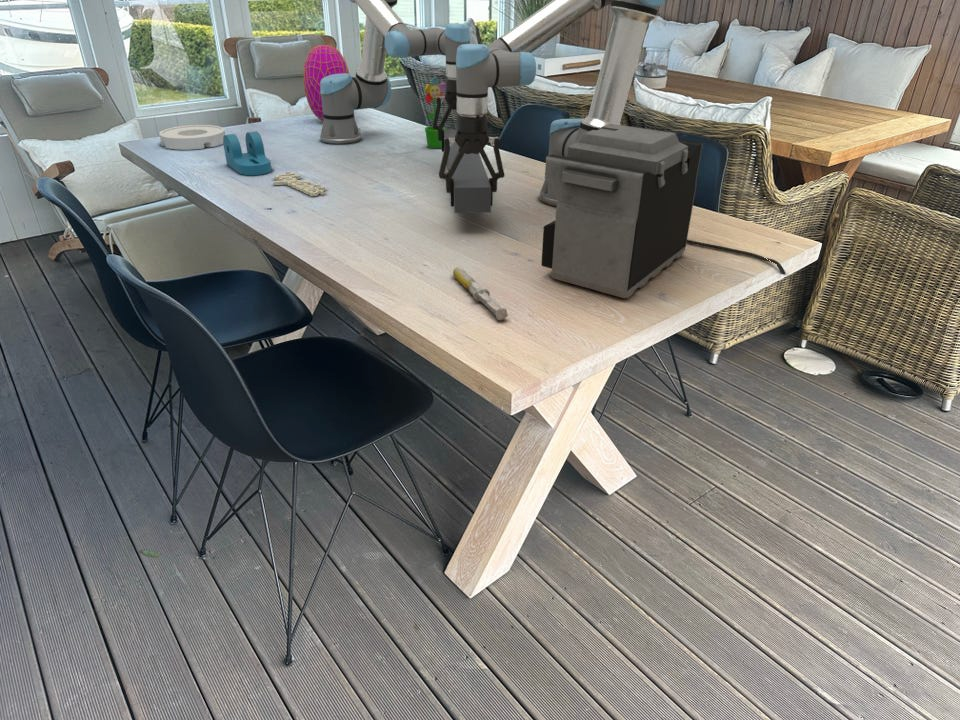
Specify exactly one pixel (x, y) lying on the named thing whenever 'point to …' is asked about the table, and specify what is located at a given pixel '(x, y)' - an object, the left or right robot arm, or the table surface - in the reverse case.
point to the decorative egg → (321, 73)
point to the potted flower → (433, 92)
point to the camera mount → (246, 154)
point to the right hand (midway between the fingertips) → (471, 204)
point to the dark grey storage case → (619, 207)
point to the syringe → (479, 293)
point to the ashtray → (192, 137)
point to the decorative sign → (299, 184)
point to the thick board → (469, 181)
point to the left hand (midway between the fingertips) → (458, 150)
